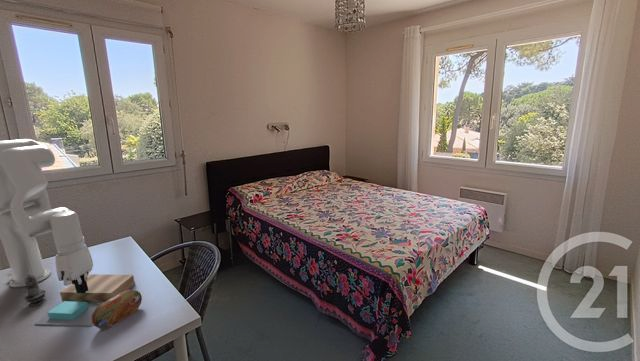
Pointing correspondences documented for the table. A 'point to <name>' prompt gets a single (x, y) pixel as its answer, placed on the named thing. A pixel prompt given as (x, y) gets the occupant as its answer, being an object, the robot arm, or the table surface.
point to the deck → (99, 288)
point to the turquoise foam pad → (68, 310)
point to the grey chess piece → (34, 292)
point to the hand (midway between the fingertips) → (82, 291)
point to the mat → (80, 320)
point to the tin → (116, 309)
